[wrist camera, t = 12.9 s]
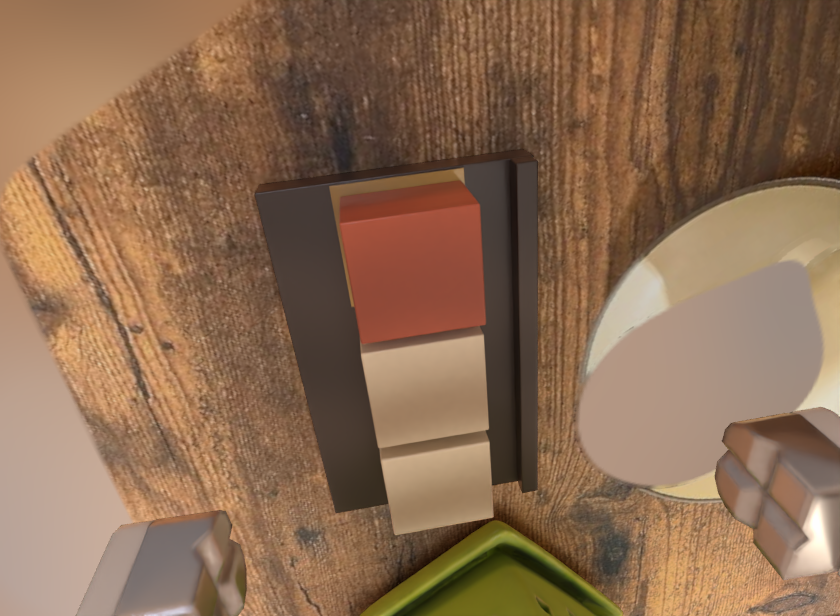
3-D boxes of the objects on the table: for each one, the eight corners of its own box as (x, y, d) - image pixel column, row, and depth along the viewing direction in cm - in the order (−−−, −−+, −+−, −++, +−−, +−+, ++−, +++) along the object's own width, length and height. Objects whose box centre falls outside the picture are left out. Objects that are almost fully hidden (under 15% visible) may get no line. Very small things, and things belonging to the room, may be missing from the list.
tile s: (339, 196, 19) (338, 223, 16) (461, 179, 19) (480, 202, 17) (358, 305, 21) (361, 345, 18) (468, 288, 21) (486, 325, 19)
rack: (258, 184, 20) (239, 220, 16) (523, 148, 20) (564, 174, 17) (335, 494, 27) (335, 568, 23) (527, 461, 28) (556, 527, 24)
